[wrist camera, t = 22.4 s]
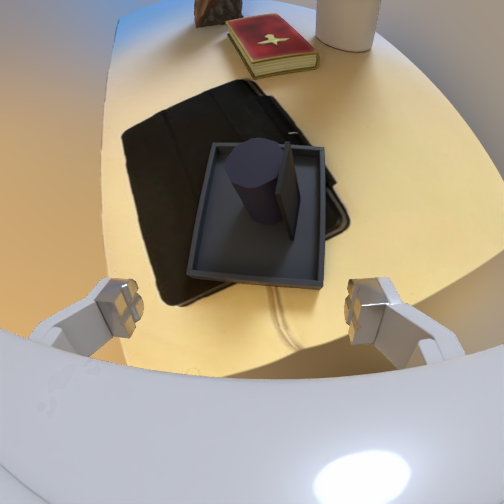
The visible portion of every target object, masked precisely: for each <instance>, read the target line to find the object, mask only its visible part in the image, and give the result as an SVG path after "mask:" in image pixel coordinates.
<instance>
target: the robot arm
mask: <svg viewBox="0 0 504 504" xmlns="http://www.w3.org/2000/svg"><path fill="white" fill-rule="evenodd" d="M347 290H348V293H349V295H348V297H347V298H346V299H345V305H344V315H345V320H346V323H347V324H348V325H349V326H350V327H349V331H348V332H349V336H350V340H351V344H352V345H363V344H374V346H376V348H377V349H378V350H379V351H380V352H381V353H382V354H384V355H385V357H386V358H387V359H388V360H389V361H390V362H391V363H392V364H393V365H394V366H395V367H396V368H397V369H398V370H395V371H388V372H381V373H373V374H366V375H356V376H347V377H335V378H317V379H287V380H286V379H283V380H282V379H280V380H277V379H274V380H272V379H269V380H268V379H267V380H266V379H237V378H220V377H207V376H196V375H187V374H178V373H170V372H163V371H156V370H150V369H143V368H138V367H132V366H127V365H122V364H117V363H112V362H107V361H103V360H98V359H94V358H90V357H89V356H91V355H92V354H93V353H94V352H96V351H97V350H98V349H99V348H100V347H102V346H103V345H104V344H105V343H107V342H108V341H109V340H110V339H111V338H113V336H114V337H122V338H130V337H131V335H132V333H133V332H134V330H135V328H136V325H135V322H137V321H139V320H140V319H141V317H142V315H143V310H144V305H143V300H142V297H141V296H140V295H139V294H138V293H137V291H138V286H137V283H136V281H134V280H133V279H119V278H102V279H101V280H100V281H99V282H98V283H97V285H96V286H95V287H94V288H93V289H92V291H91V292H90V293H89V294H88V295H87V297H86V298H85V299H84V300H80V301H78V302H76V303H74V304H72V305H70V306H69V307H67V308H65V309H63V310H61V311H59V312H58V313H56V314H54V315H52V316H50V317H49V318H47V319H45V320H43V321H41V322H40V323H39V324H38V326H37V327H36V328H35V330H34V331H33V332H32V333H31V335H30V336H29V337H28V339H27V338H24V337H22V336H19V335H16V334H14V333H11V332H8V331H6V330H4V329H1V328H0V504H504V344H502V345H498V346H495V347H492V348H489V349H486V350H483V351H480V352H476V353H473V354H469V355H466V354H465V352H464V350H463V348H462V346H461V345H460V343H459V341H458V339H457V337H456V335H455V333H453V332H452V331H450V330H449V329H447V328H446V327H444V326H443V325H441V324H439V323H438V322H436V321H435V320H433V319H432V318H430V317H428V316H427V315H425V314H424V313H422V312H420V311H419V310H417V309H416V308H414V307H412V306H411V305H409V304H408V303H403V301H402V300H401V298H400V296H399V294H398V292H397V291H396V289H395V287H394V285H393V283H392V282H391V280H390V278H389V277H377V278H365V279H349V282H348V287H347Z"/></svg>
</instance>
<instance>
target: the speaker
mask: <svg viewBox="0 0 504 504" xmlns="http://www.w3.org/2000/svg"><path fill="white" fill-rule="evenodd" d="M224 169H225V171H226V173H227V175H228V177H229V179H230V181H231V183H232V185H233V187H234V188H235V190H236V192H237V194H238V195H239V197H240V199H241V200H242V202H243V204H244V206H245V207H246V209H247V211H248V213H249V214H250V216H251V218H252V219H253V220H255V221H258V222H260V223H262V224H264V225H274V224H276V223H278V222H280V221H282V220H284V222H285V225H286V229H287V232H288V235H289V238H290V241H294V238H295V232H296V226H297V220H298V214H299V208H300V201H301V197H300V191H299V186H298V180H297V175H296V170H295V165H294V160H293V155H292V150H291V145H290V141H285V145H284V150H282V149H281V147H280V146H279V144H278V143H277V142H275V141H271V140H268V139H264V138H261V137H260V138H252V139H249V140H247V141H245V142H243V143H241V144H239V145H237V146H235V147H234V149H233V150H232V152H231V153H230V155H229V156H228V157H227V159H226V160H225V166H224Z"/></svg>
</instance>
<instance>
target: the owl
mask: <svg viewBox="0 0 504 504" xmlns="http://www.w3.org/2000/svg"><path fill="white" fill-rule="evenodd" d="M194 9H195V10H194V16H195V18H194V19H195V23H196V28H199V27H204V26H212V25H221V24H226V23H225V21H230V20H234V19H240V18H243V17H244V16H242V14H241V11H242V0H195V4H194Z"/></svg>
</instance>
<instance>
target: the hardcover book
mask: <svg viewBox="0 0 504 504" xmlns="http://www.w3.org/2000/svg"><path fill="white" fill-rule="evenodd" d="M225 23H226V25H227V26H228V29H229V33H228V36H229V38H230V40H231V41H232V43H233V45H234V46H235V48H236V50H237V51H238V53H239V55H240V56H241V58H242V60H243V61H244V63H245V65H246V67H247V68H248V70H249V72H250V74H251V75H252V77H253V79H254V80H255V79H260V78H265V77H270V76H275V75H281V74H286V73H293V72H299V71H306V70H314V69H317V68H318V65H319V53H318V52H317V51H316V50H315V49H314V48H313V47H312V46H311V45H310V44H309V43H308V42H307V41H306V40H305V39H304V38H303V37H302V36H301V35H300V34H299V33H298V32H297V31H296V30H295V29H294V28H292V27H291V26H290V25H289V24H288V23H287V22H286V21H285V20H284V19H282V18H281V17H280V16H279V15H278V14H277V13H272V14H264V15H257V16H251V17H245V18H240V19H234V20H230V21H225Z"/></svg>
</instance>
